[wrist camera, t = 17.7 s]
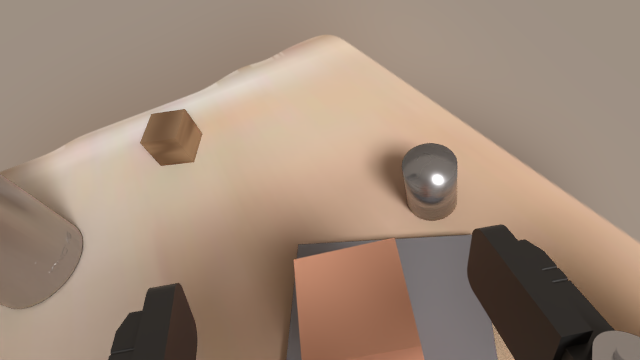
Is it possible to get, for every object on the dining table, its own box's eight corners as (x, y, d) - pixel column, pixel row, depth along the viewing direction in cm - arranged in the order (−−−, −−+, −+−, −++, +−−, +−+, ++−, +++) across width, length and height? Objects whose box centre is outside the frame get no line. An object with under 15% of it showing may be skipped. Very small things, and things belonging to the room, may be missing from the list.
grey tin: (408, 222, 35) (403, 188, 31) (406, 182, 37) (400, 146, 33) (459, 219, 34) (460, 183, 30) (454, 178, 36) (454, 140, 32)
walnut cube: (161, 166, 46) (140, 142, 43) (170, 138, 49) (151, 114, 46) (194, 162, 45) (175, 138, 42) (202, 134, 48) (184, 109, 45)
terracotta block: (354, 409, 27) (302, 367, 18) (343, 330, 30) (293, 259, 21) (432, 396, 27) (421, 345, 17) (413, 317, 30) (394, 237, 20)
